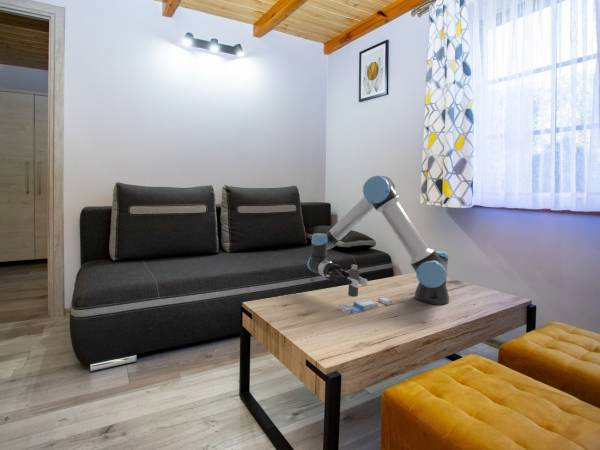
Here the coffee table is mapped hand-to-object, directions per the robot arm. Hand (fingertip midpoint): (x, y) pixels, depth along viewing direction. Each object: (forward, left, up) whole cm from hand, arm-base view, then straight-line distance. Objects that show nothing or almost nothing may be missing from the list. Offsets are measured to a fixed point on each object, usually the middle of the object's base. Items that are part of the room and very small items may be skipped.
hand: (361, 283), depth 142 cm
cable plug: (0, -5, -6) cm, 8 cm away
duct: (-7, -5, -13) cm, 15 cm away
